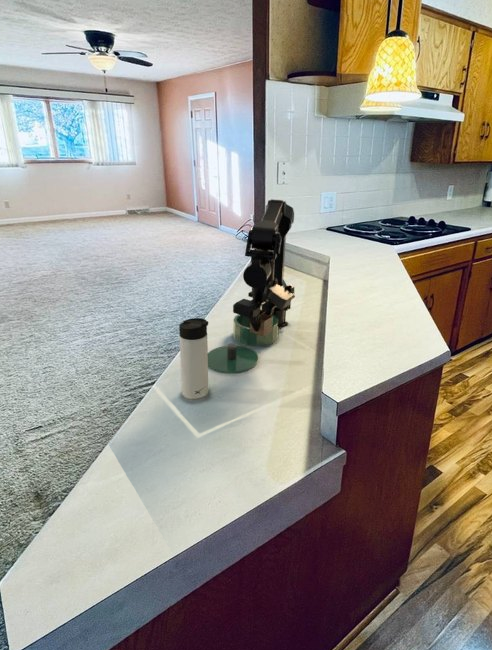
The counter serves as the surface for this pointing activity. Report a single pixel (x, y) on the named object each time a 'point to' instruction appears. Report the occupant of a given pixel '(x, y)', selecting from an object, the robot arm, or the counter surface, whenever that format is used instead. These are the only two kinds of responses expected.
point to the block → (264, 325)
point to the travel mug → (194, 358)
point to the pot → (251, 339)
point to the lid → (232, 359)
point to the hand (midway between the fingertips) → (261, 327)
